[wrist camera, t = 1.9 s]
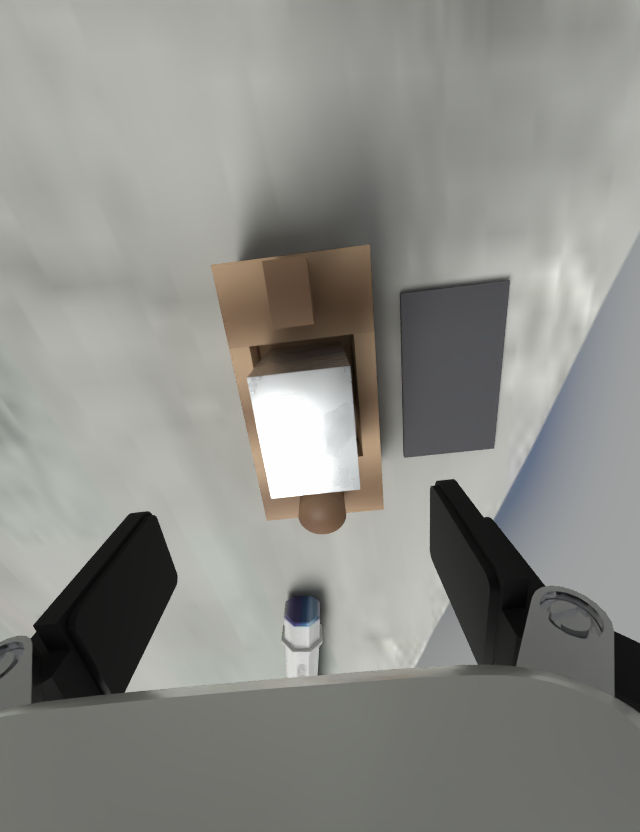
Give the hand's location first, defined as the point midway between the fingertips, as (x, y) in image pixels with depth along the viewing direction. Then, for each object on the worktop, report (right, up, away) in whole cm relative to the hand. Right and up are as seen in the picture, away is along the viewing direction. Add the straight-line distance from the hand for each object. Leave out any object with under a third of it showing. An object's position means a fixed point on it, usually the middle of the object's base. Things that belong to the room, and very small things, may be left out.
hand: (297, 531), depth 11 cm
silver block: (0, +6, +13) cm, 14 cm away
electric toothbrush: (-1, -28, +30) cm, 41 cm away
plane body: (0, +7, +16) cm, 17 cm away
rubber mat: (+12, +7, +16) cm, 21 cm away
